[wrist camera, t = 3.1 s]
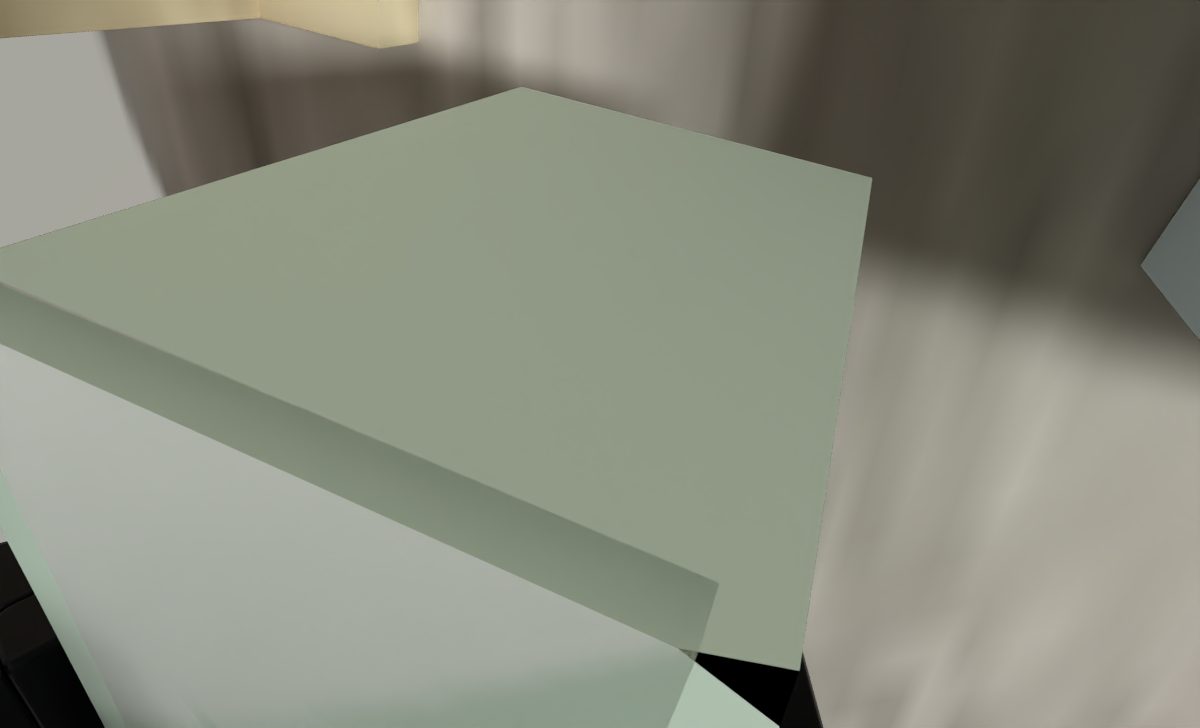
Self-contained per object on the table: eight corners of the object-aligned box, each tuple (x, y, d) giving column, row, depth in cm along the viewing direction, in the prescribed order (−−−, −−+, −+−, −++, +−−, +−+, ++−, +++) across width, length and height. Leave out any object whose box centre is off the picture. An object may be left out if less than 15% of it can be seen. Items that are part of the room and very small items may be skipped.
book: (678, 670, 12) (523, 1154, 7) (480, 580, 13) (223, 953, 8) (872, 177, 7) (796, 702, 2) (521, 86, 8) (-126, 286, 3)
